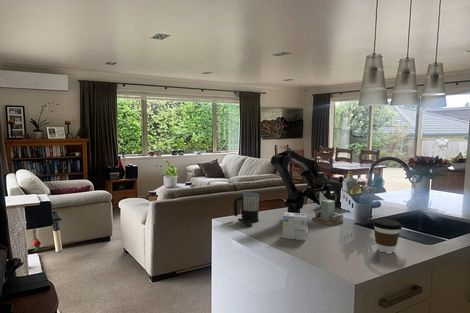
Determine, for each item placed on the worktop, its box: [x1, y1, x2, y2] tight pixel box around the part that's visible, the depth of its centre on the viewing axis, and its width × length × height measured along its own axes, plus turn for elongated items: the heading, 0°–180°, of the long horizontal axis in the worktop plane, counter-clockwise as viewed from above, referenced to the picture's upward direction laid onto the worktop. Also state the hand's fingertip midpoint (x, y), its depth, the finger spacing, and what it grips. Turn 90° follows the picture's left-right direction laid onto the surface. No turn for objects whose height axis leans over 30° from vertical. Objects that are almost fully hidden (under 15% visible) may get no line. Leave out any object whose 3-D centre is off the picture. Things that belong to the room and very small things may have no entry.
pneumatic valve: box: [316, 191, 337, 202], centre depth 207 cm, size 6×12×12 cm, turn 51°
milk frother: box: [232, 191, 260, 227], centre depth 174 cm, size 14×16×15 cm
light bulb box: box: [281, 211, 309, 242], centre depth 151 cm, size 11×7×11 cm, turn 71°
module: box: [320, 199, 336, 221], centre depth 179 cm, size 5×5×10 cm
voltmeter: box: [322, 173, 344, 208], centre depth 217 cm, size 16×16×20 cm
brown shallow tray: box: [311, 210, 344, 226], centre depth 179 cm, size 10×12×4 cm
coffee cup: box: [372, 218, 403, 253], centre depth 136 cm, size 11×11×12 cm
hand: (325, 203), depth 179 cm, fingers open, 9 cm apart
